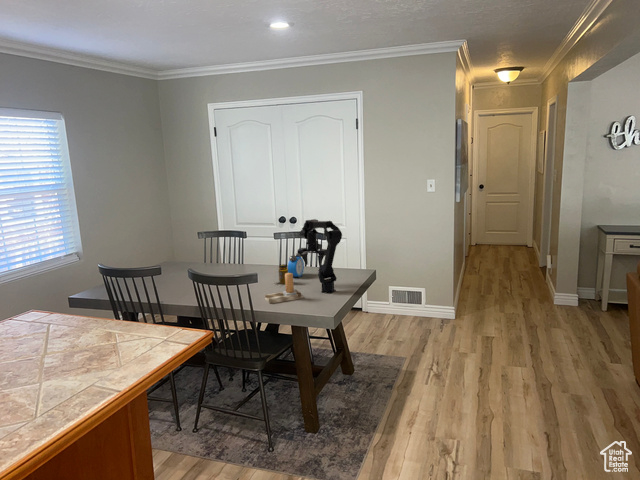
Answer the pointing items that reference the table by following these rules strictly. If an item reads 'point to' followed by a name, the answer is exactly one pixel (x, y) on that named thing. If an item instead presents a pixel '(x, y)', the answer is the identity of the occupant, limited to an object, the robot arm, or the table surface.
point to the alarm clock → (296, 265)
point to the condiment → (282, 274)
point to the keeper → (289, 285)
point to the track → (282, 297)
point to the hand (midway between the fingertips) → (313, 265)
